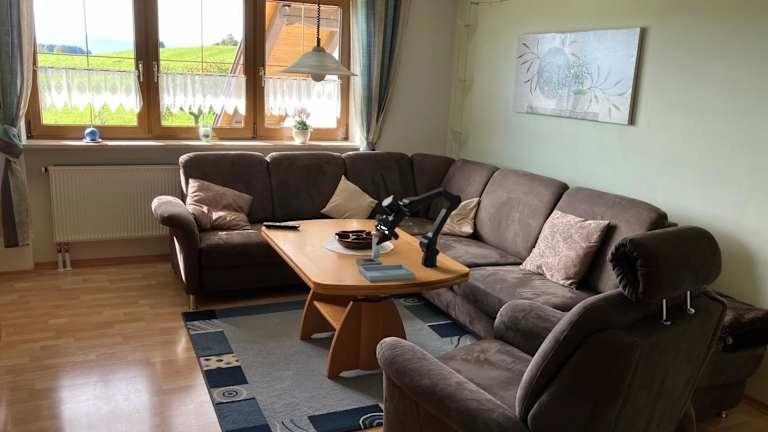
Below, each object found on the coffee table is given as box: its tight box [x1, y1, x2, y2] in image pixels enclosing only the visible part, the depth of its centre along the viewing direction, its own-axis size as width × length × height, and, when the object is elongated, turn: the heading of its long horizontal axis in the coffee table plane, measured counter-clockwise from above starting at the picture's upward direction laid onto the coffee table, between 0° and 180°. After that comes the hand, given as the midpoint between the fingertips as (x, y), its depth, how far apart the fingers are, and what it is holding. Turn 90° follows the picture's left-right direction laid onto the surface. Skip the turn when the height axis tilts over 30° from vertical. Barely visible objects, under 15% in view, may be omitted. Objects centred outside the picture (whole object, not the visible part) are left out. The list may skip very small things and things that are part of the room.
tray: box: [358, 263, 416, 283], centre depth 291 cm, size 22×16×3 cm
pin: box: [370, 230, 382, 259], centre depth 294 cm, size 6×6×12 cm
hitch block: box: [355, 257, 383, 267], centre depth 305 cm, size 10×10×2 cm
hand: (374, 243), depth 294 cm, fingers closed on pin, 5 cm apart
